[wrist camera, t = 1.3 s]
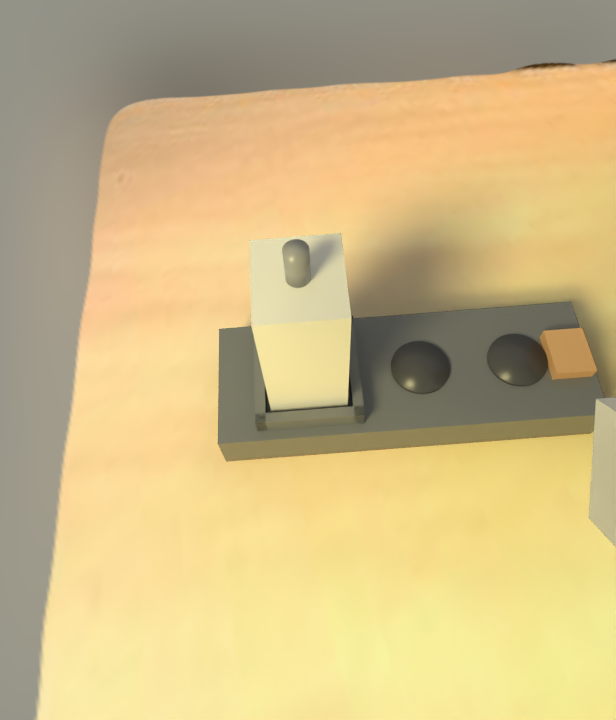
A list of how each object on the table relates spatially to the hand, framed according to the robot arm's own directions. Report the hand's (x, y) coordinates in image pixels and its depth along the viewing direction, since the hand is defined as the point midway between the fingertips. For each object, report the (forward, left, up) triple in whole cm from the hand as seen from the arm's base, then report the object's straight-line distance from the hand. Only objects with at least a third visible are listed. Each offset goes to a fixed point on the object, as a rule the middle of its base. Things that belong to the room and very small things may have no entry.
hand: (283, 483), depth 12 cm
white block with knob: (0, -13, -20) cm, 24 cm away
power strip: (-6, -13, -23) cm, 27 cm away
